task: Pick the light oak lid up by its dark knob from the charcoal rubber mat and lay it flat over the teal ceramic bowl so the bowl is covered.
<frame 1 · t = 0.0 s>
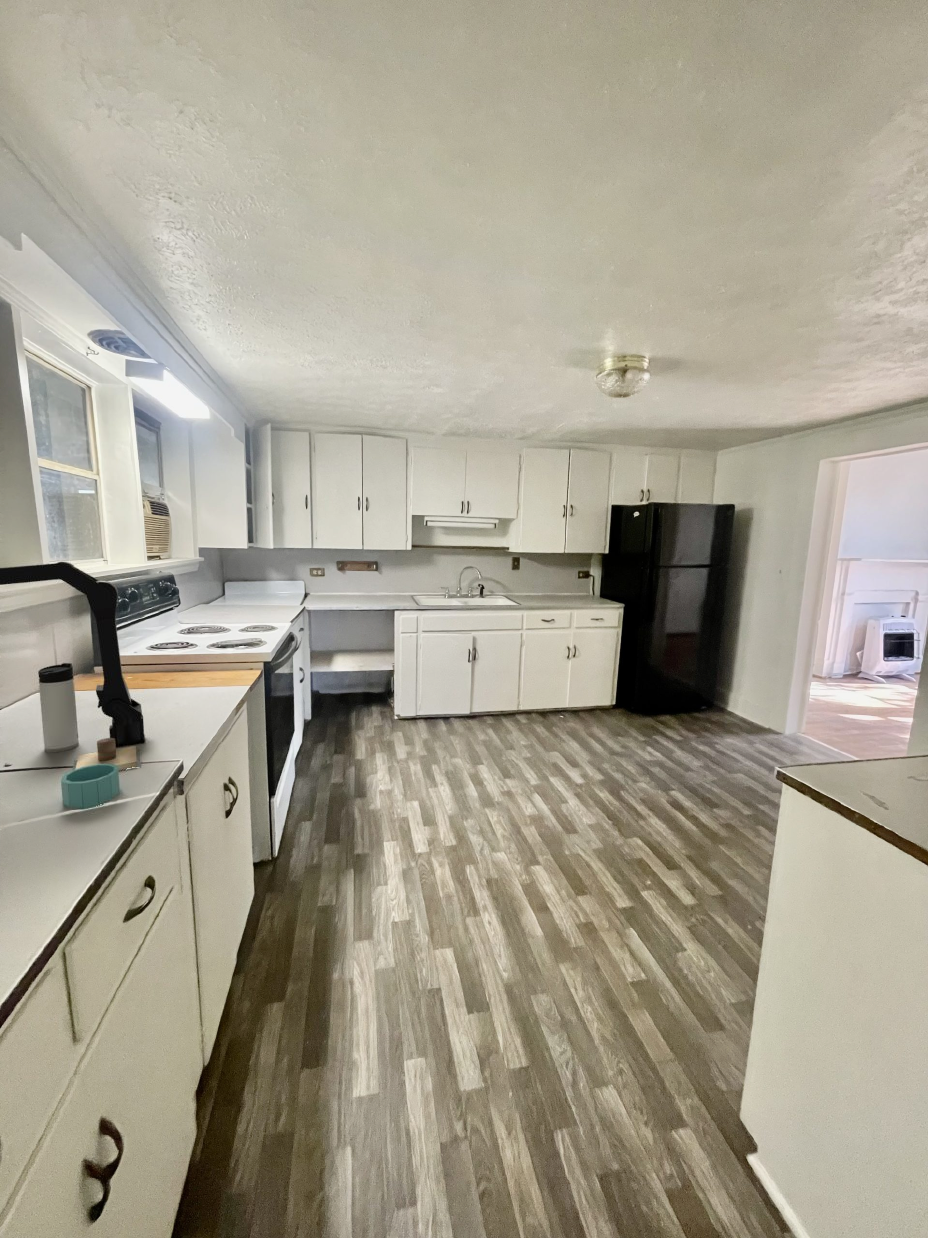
travel mug: (62, 749, 116), on the countertop
mat: (107, 765, 107), on the countertop
bowl: (92, 798, 93), on the countertop
lid: (107, 763, 107), resting on mat
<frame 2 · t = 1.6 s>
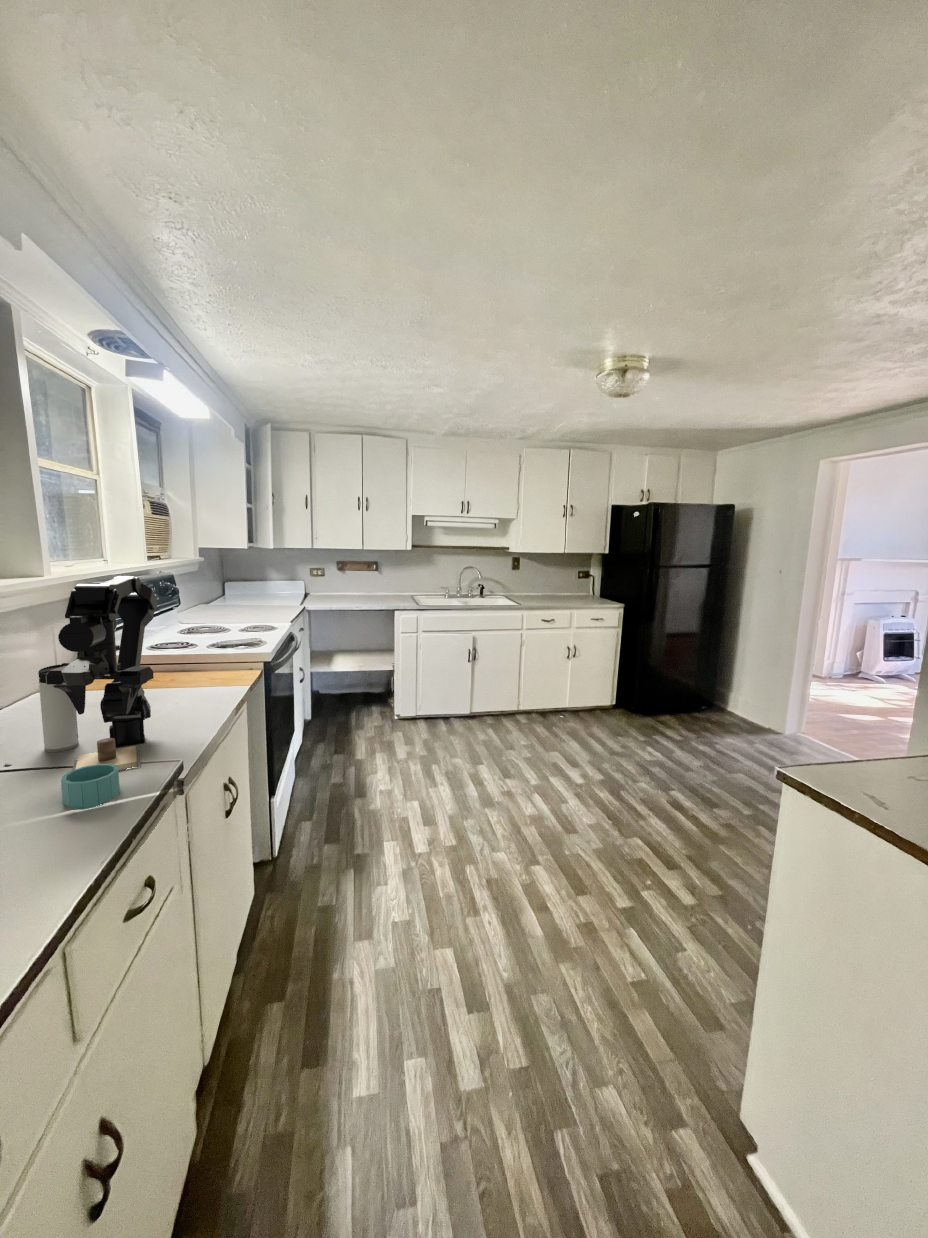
hand: (103, 714, 105), 12 cm above the countertop, tool pointing down, fingers open, 9 cm apart
nothing on the countertop moved.
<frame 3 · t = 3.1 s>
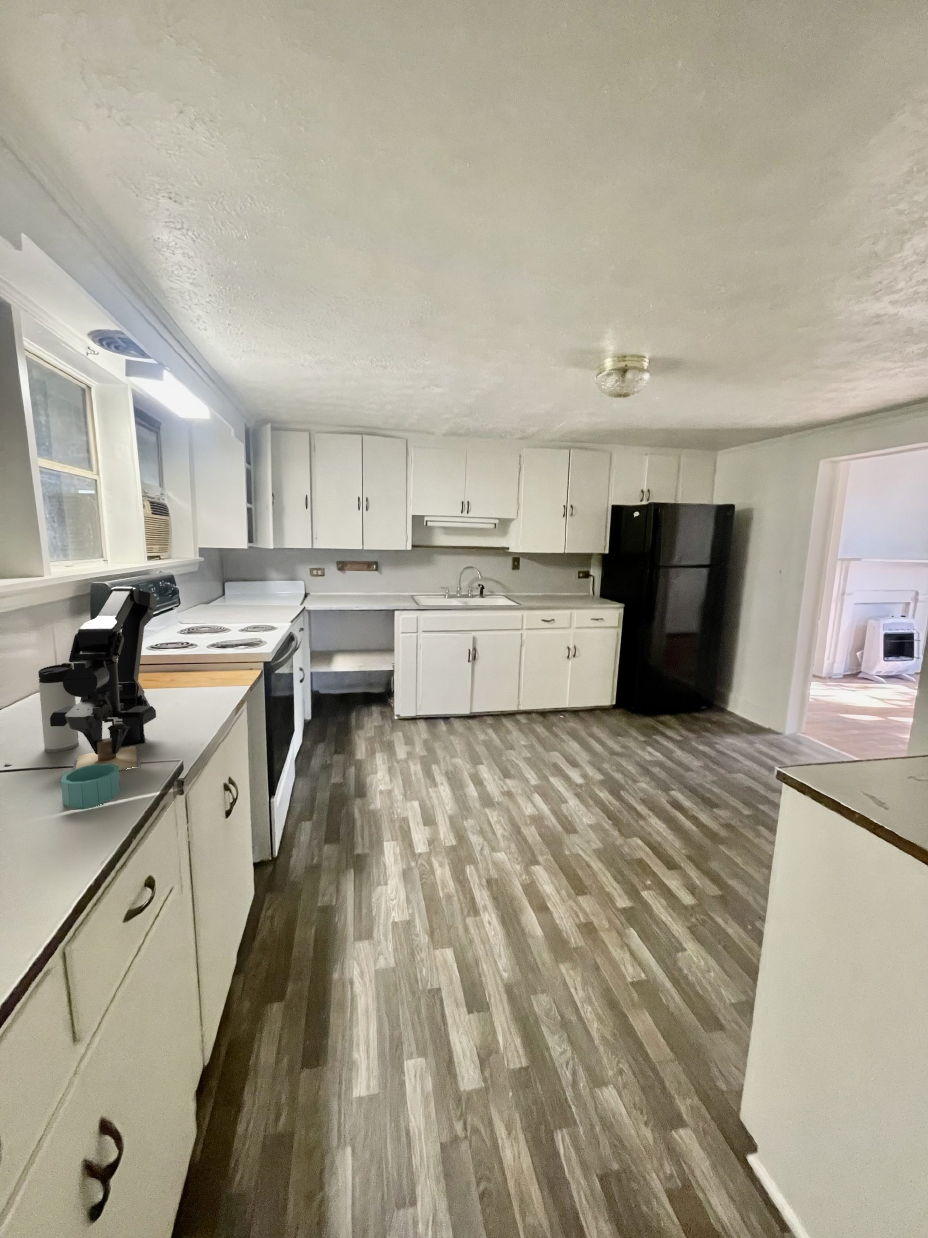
hand: (106, 753, 107), 3 cm above the countertop, tool pointing down, fingers closed on lid, 3 cm apart
lid: (107, 763, 107), resting on mat, touching gripper
everything else where it was.
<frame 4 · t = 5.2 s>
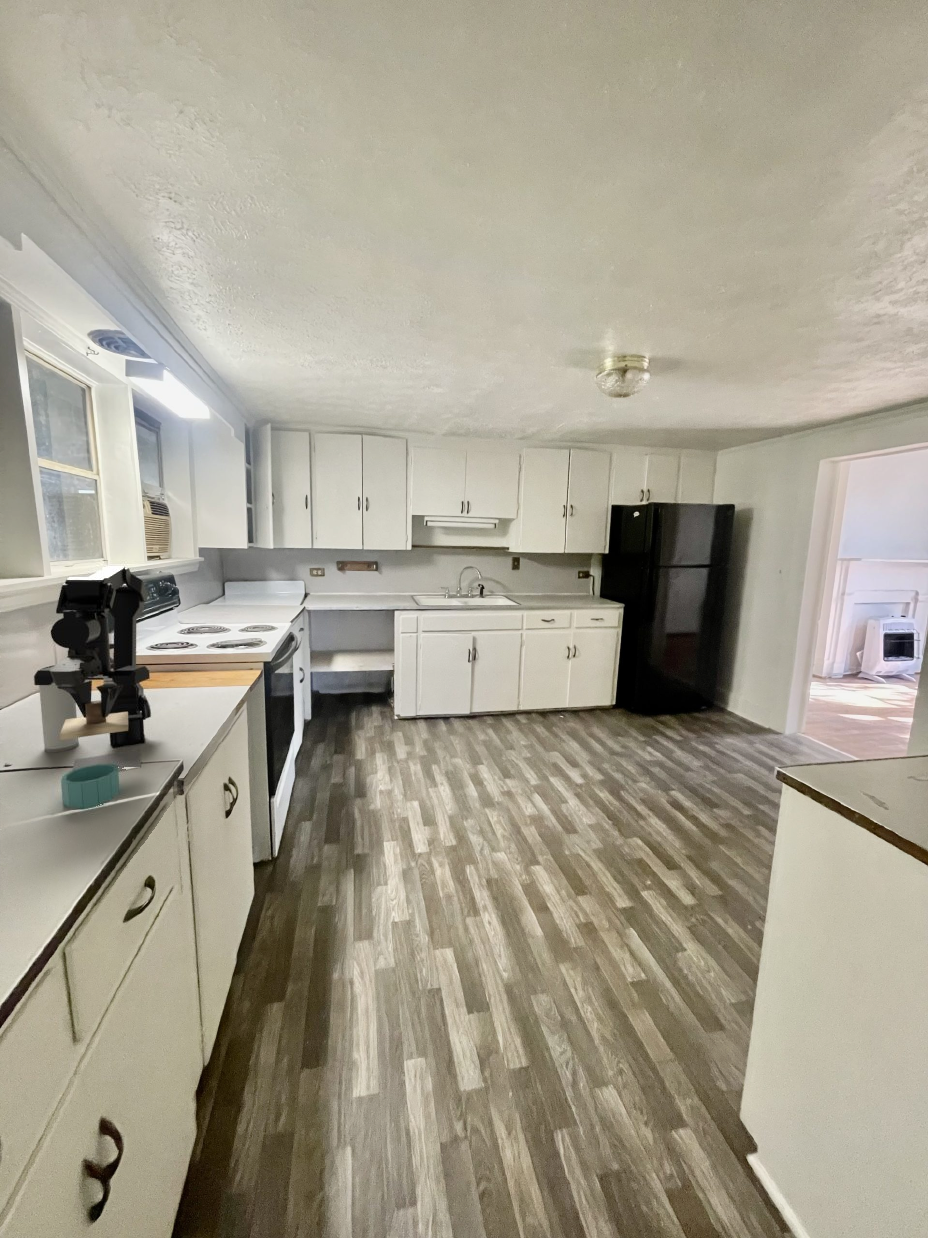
hand: (96, 717, 99), 13 cm above the countertop, tool pointing down, fingers closed on lid, 3 cm apart
lid: (96, 727, 99), point 11 cm above the countertop, touching gripper
everything else where it was.
when the fingers open (9 cm above the countertop, at t = 7.1 s): lid drops 2 cm, resting on bowl.
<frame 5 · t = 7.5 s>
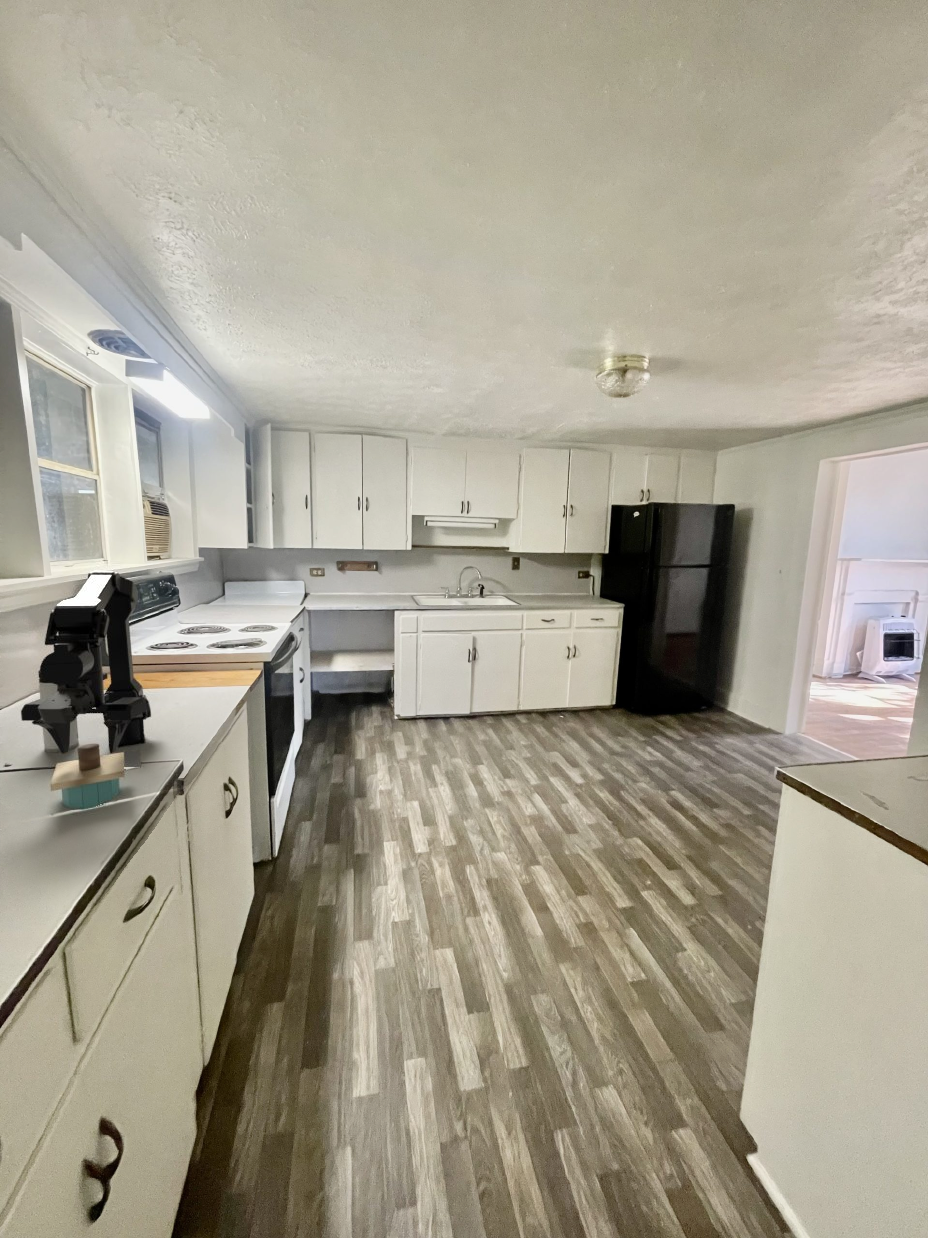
hand: (89, 752, 92), 9 cm above the countertop, tool pointing down, fingers open, 8 cm apart
lid: (90, 773, 92), point 5 cm above the countertop, touching bowl
everything else where it was.
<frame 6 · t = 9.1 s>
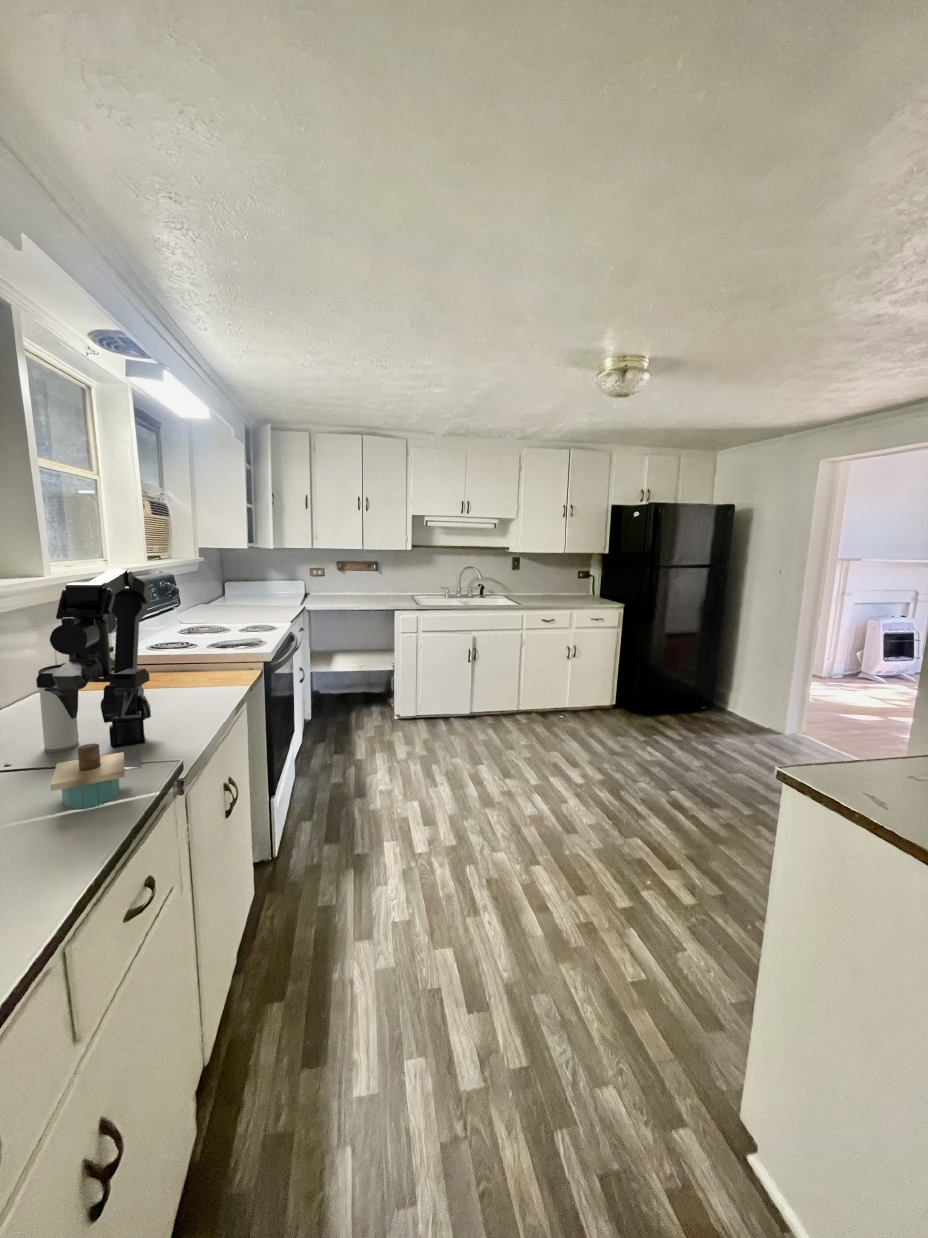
hand: (97, 718, 101), 12 cm above the countertop, tool pointing down, fingers open, 9 cm apart
nothing on the countertop moved.
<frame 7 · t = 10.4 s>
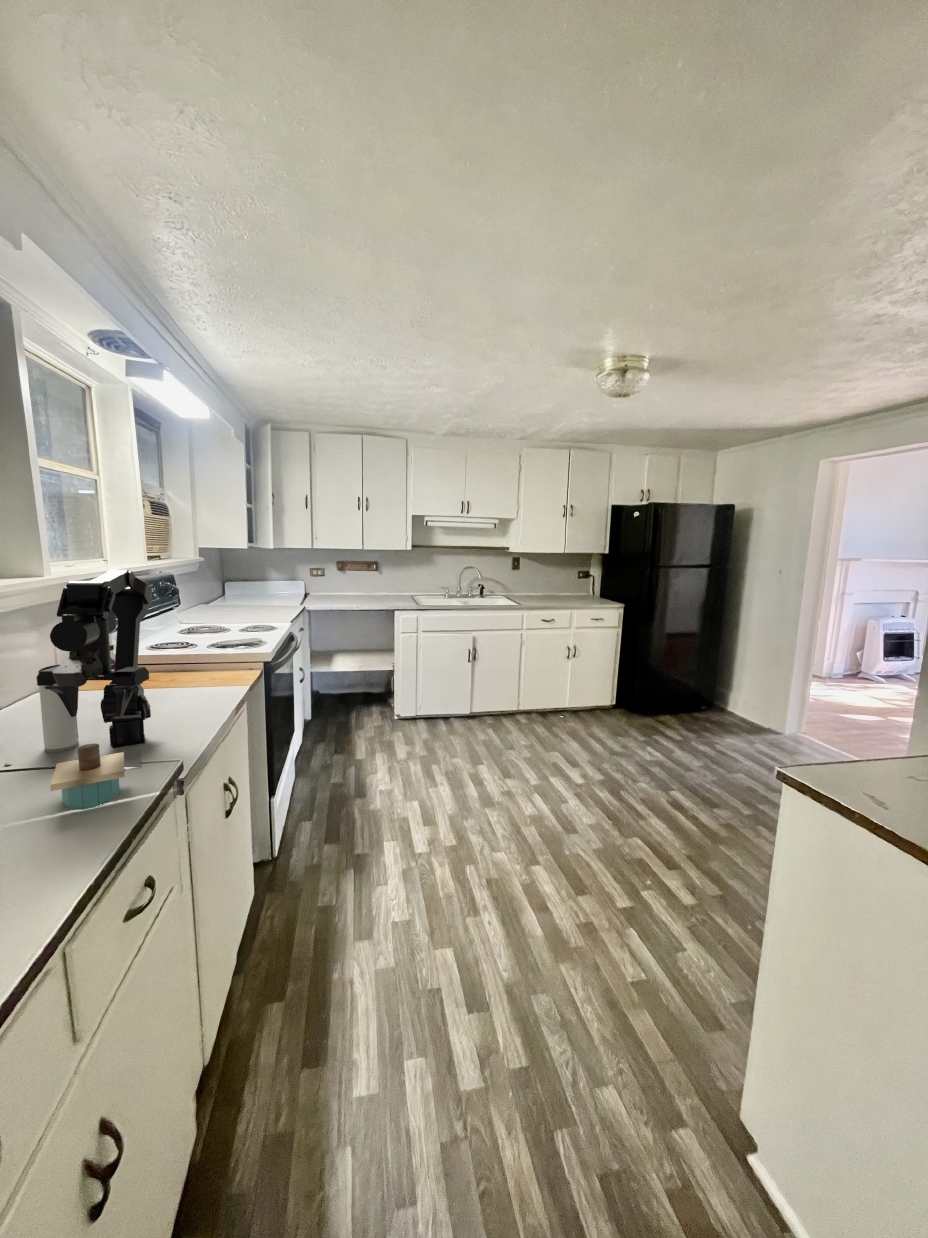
hand: (97, 716, 101), 13 cm above the countertop, tool pointing down, fingers open, 9 cm apart
nothing on the countertop moved.
at the end: lid 0.0 cm from the bowl (horizontally); lid point 5.0 cm above the countertop; lid tilted 0° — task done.
